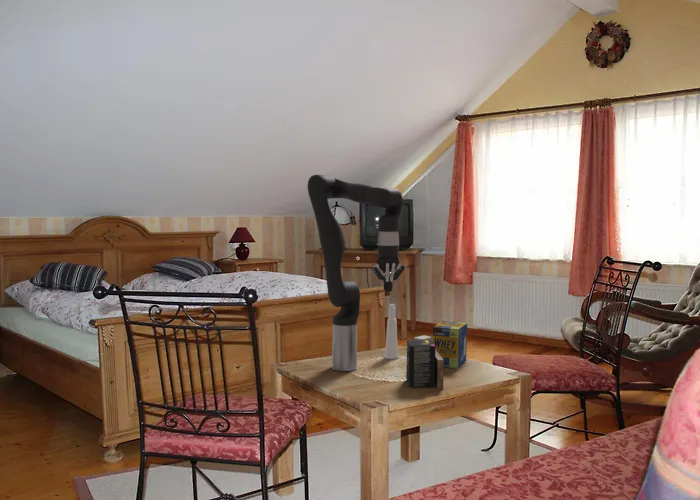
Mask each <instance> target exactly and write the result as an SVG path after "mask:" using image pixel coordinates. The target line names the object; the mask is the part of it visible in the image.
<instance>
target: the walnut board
mask: <svg viewBox="0 0 700 500" xmlns="http://www.w3.org/2000/svg"><path fill="white" fill-rule="evenodd" d="M444 368H445V367H444V360H443V358H442V357H441V356H440V355H439V353H438V352H437V351H436V350H435V388H436V389H437V390H443V389H444Z"/></svg>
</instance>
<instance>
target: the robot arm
mask: <svg viewBox="0 0 700 500" xmlns="http://www.w3.org/2000/svg"><path fill="white" fill-rule="evenodd" d="M307 193H308V196H309V199H310V203H311V206H312V210H313V213H314V219H315V222H316V227H317V231H318V238H319V242H320V249H321V252H322V257H323V262H324V263H323V264H324V269H325V277H326V287H327V289H326V290H327V295H328V299H329V301H330V302H329V303H330V304H331V305H332V306H334V307H336V308H340V309H339V311H338V312H337V313H335V314H334V315H333V317H332V348H331V351H332V353H331V354H332V355H331V358H332V361H331V364H332V365H331V368H332V371H338V372H339V371H340V372H350V371H355V370H357V365H358V364H357V363H358V359H357V356H358V355H357V354H358V351H357V349H358V347H357V346H358V319H359V316H360V306H361V305H360V303H361V291H360V288H359V286H358V284H357V283H356V282H355V281H353V280H346V281H344V280H343V276H342V262H343V259H344V257H345V253H346V242H345V237H344V231H343V228H342V225H340V223H339V221H338V220H337V218H336V216H335V215H334V214H333V212H332V210H331V208H330V204H329V200H330V199H346V200H349V201H352V202H356V203H358V204H364V205H370V206H374V207H378V208H380V209H381V208H382V209H385V211H384V214H382V215H381V216H379V218H378V236H377V261H376V264H375V265H373V266H371V271H372V272H373V273H374V274H375V276H376V277H377V279H378V280H380V281H382V282H383V290H384V292H385V293H391V292H392V290H393V282H394V281H397V280H398V279H399V277H400V276H401V274H402V273H403V271H404V270H405V269H406V266H405V265H402V264H401V263H400V260H399V256H400V236H399V235H400V234H399V219H400V215H401V212H402V208H403V202H404V201H403V194H402V192H401V191H400V190H399V189H397V188H385V187H376V186H374V185H372V184H371V185H369V184H363V183H352V182H347V181H343V180H341V179H338V178H335V177H333V176H331V175H329V174H328V175H327V174H326V175H325V174H313V175H311V176H310V177H309V179H308V181H307ZM380 270H381V271H380Z"/></svg>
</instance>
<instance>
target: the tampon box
mask: <svg viewBox="0 0 700 500" xmlns="http://www.w3.org/2000/svg"><path fill="white" fill-rule="evenodd" d="M405 374H406V377H405V378H406V379H407V380H406V383H407V385H408V388H427V389H428V388H436V386H435V345H434V343H433V339H432V340H414V339H413V340H412V339H407V340H406V373H405Z"/></svg>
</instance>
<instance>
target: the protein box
mask: <svg viewBox="0 0 700 500" xmlns="http://www.w3.org/2000/svg"><path fill="white" fill-rule="evenodd" d="M432 341H433V343H434V345H435V350H436V351H437V352H438V353H439V355H440V356H441V357H442V358H443V360H444V368H449V369H457V370H458V369H459V368H460V367H461V366H462V365H463V364H464V363H465V362H466V361H467V346H468V344H467V343H468V342H467V341H468V323H467V322H459V321H457V322H456V321H449V320H448V321H447V320H442V321H440V322H439V323H436V324H435V325H434V326H432Z"/></svg>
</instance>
